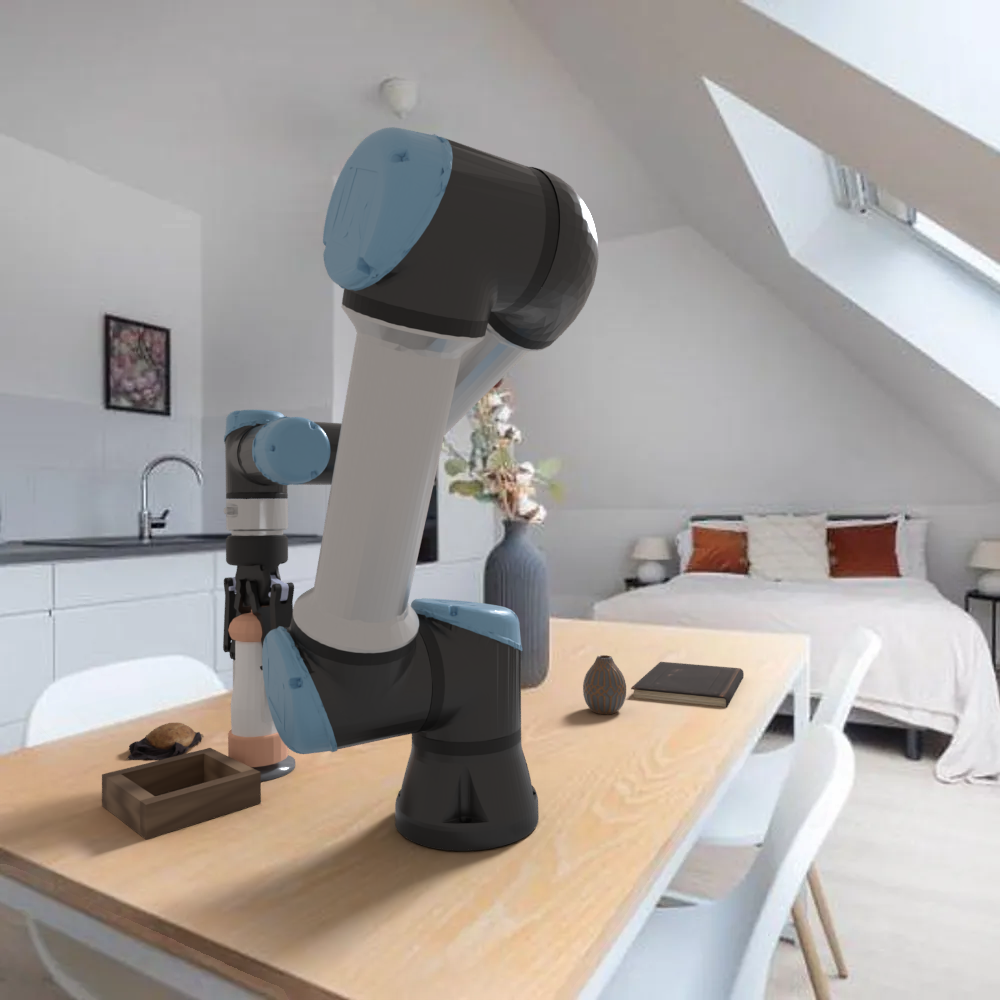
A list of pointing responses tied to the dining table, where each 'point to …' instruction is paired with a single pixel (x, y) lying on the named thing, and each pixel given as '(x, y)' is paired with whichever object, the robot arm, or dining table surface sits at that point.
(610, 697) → the vase
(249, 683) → the pepper shaker
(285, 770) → the slate coaster
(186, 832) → the dining table surface
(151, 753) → the brown and black lump
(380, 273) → the robot arm
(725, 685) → the hardcover book
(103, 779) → the walnut frame
